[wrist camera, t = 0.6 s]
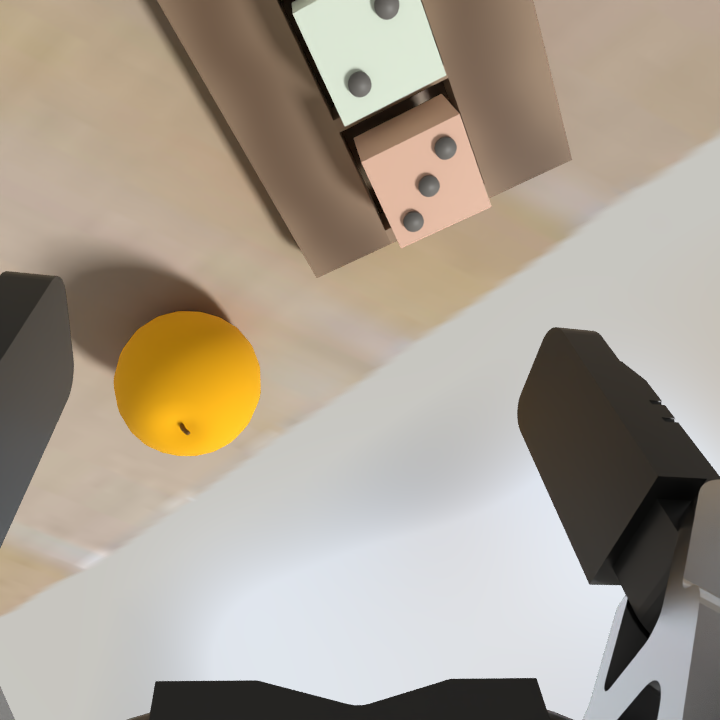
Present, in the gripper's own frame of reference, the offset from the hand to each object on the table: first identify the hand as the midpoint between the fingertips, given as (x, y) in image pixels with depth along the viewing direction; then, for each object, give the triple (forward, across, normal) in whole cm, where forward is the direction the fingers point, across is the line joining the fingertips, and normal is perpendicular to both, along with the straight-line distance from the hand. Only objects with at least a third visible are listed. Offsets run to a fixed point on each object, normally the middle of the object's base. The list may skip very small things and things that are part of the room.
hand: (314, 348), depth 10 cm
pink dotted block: (+20, -6, +2) cm, 21 cm away
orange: (+23, +4, +16) cm, 28 cm away
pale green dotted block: (+20, -2, -2) cm, 21 cm away
